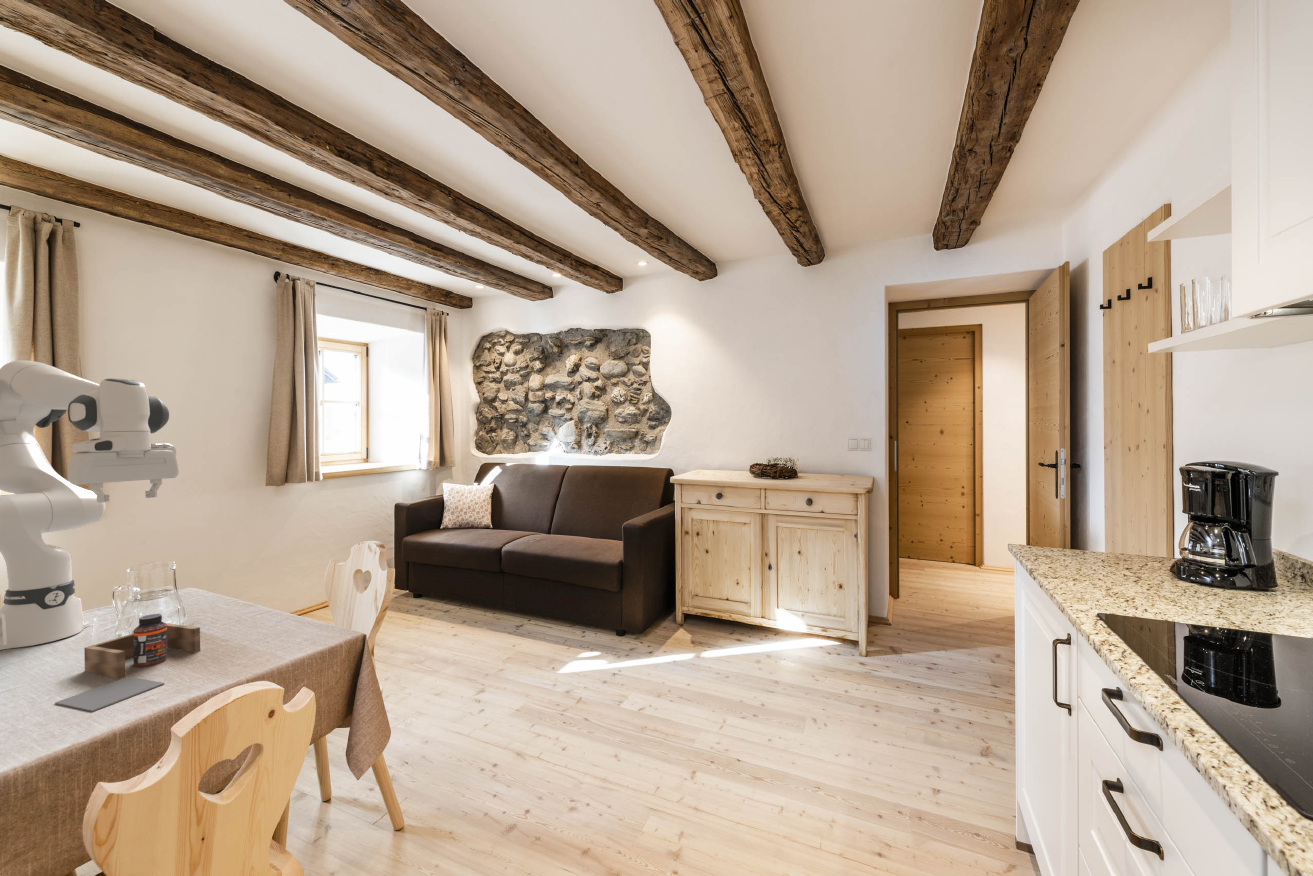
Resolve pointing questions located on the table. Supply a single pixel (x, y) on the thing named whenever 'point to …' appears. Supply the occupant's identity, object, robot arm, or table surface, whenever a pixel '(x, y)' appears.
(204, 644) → the table surface
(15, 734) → the table surface
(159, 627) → the supplement bottle
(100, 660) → the holder
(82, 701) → the mat
